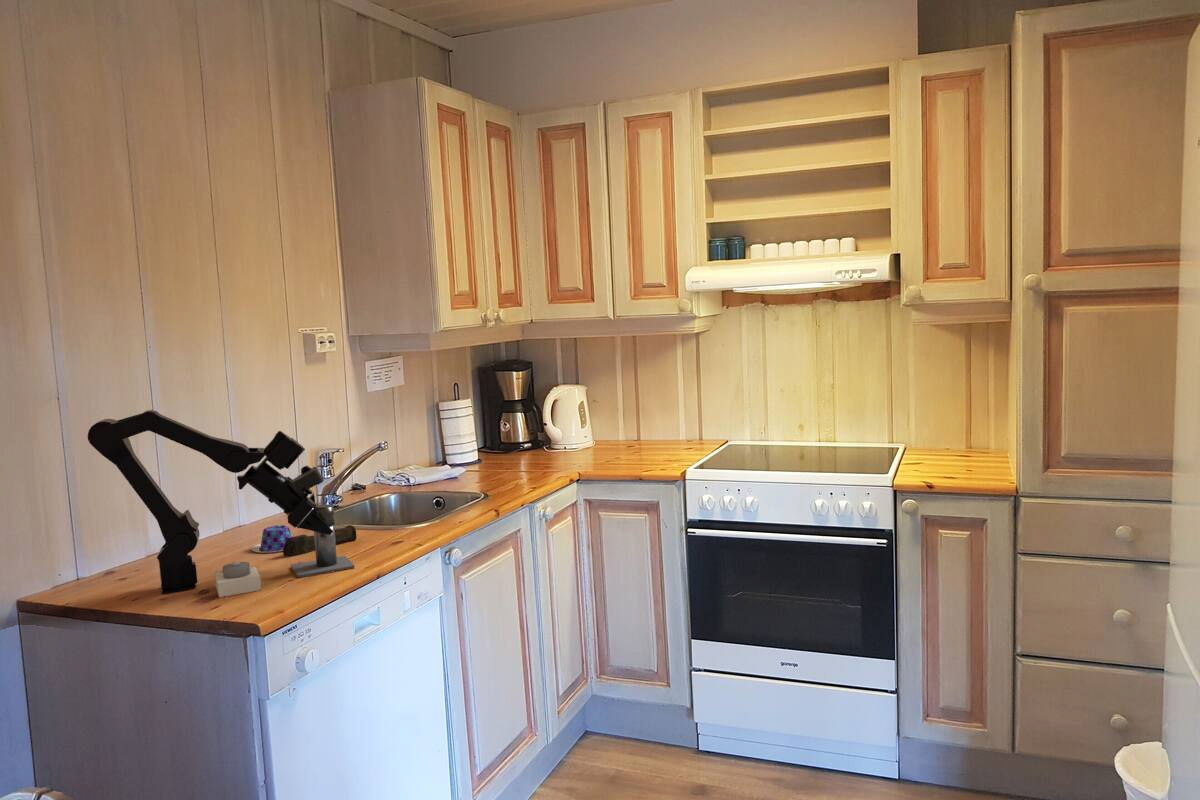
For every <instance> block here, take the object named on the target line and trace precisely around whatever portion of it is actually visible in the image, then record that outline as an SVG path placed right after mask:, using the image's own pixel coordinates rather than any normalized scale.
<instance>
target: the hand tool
mask: <svg viewBox="0 0 1200 800" xmlns="http://www.w3.org/2000/svg"><path fill="white" fill-rule="evenodd" d="M334 530H335V543H336V544H339V543H346V542H348V541H353V542H354V541H357V529H356V527H355V526H353V525H351V524H349V525H348V524H347V526H344V527H342V528H341V527H340V528H336V529H334ZM312 550H315V541H314V534H313V535H307V534H300V535H296V536H292V537H291V538H288V539H287V540H286V541H285V545H284V548H283V551H282V553H283V557H284V558H289V557H290V558H291V557H294V556H301V555H305V554H308V553H309V552H310V551H312Z"/></svg>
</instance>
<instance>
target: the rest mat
mask: <svg viewBox="0 0 1200 800" xmlns="http://www.w3.org/2000/svg"><path fill="white" fill-rule="evenodd" d="M354 567H355V564H354V563H353V562H352V561H351V560H350V559H349V558H348V557H347V556H346V555H340V556H337V564H336V565H333V566H329V567H317V566H316V560H311V561H306V562H299V563H293V564H290V569H292V571H293V572H294V574H295V576H296V577H297V578H298V579H301V578H300V577H302V578H307V577H306V576H308V577H311V576H312V575H313V576H317V574H319V575H323V574H322V573H325V574H328V573H327V572H330V573H333V572H332V571H336V572H338V571H337V570H342V571H344V570H343V569H347V570H349V569H348V568H353V569H355V568H354Z"/></svg>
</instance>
